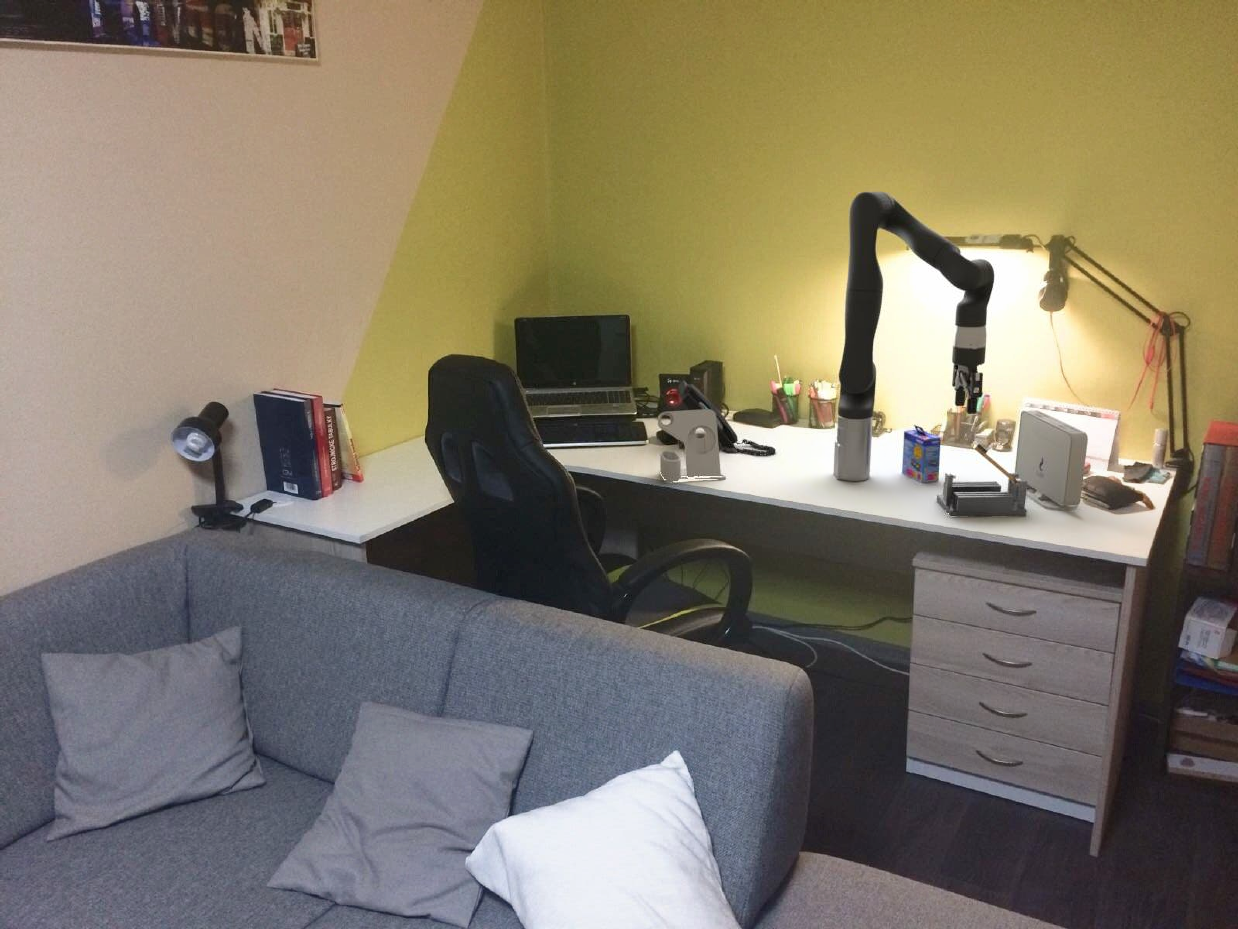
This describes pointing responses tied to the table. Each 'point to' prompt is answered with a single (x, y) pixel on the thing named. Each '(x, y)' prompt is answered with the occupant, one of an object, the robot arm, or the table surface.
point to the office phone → (718, 422)
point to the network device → (1051, 459)
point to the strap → (993, 462)
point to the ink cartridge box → (921, 455)
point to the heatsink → (983, 498)
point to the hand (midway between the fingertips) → (965, 409)
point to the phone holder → (691, 445)
